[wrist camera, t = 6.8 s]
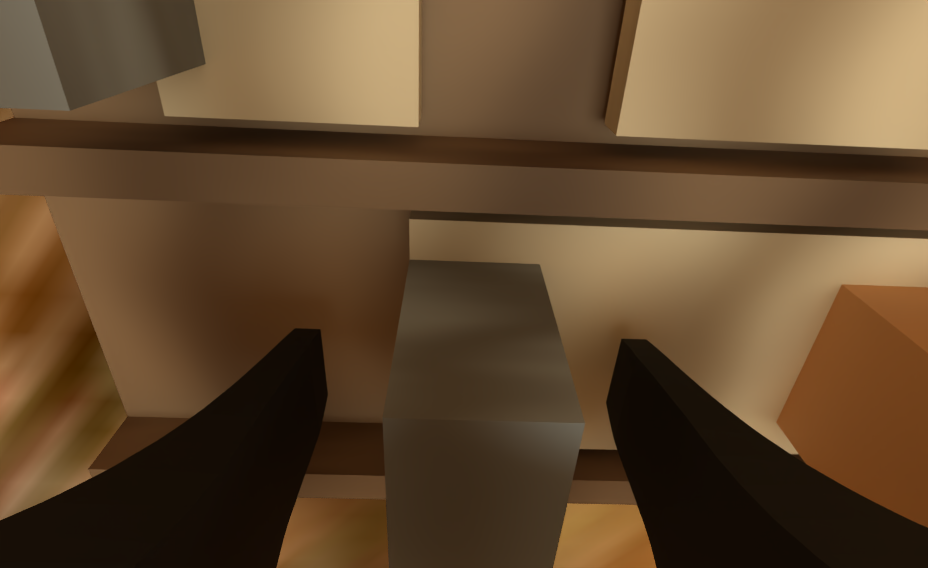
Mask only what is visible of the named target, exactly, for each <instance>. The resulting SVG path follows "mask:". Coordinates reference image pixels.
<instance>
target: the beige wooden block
mask: <svg viewBox="0 0 928 568" xmlns="http://www.w3.org/2000/svg"><path fill="white" fill-rule="evenodd" d="M409 247H410V260H409V266H408V272H407V278H406V283H405V289H404V295H403V301H402V307H401V313H400V318H399V324H398V330H397V336H396V342H395V348H394V353H393V359H392V365H391V371H390V377H389V383H388V389H387V394H386V400H385V406H384V412H383V418H382V419H383V442H384V464H385V486H386V509H387V531H388V554H389V568H553V565H554V560H555V556H556V551H557V547H558V542H559V538H560V534H561V529H562V525H563V520H564V516H565V511H566V507H567V502H568V498H569V493H570V489H571V484H572V480H573V475H574V471H575V466H576V462H577V457H578V453H579V449H606V450H617V448H616V445H615V442H614V438H613V434H612V430H611V425H610V421H609V416H608V411H607V406H606V400H607V396H608V391H609V387H610V383H611V379H612V375H613V371H614V367H615V363H616V359H617V355H618V351H619V346H620V342H621V339H647V340H648V341H649V342H650V343H652V344H653V345H654V346H655V347H656V348H657V349H659V350H660V351H661V352H662V353H663V354H664V355H665V356H666V357H668V358H669V359H670V360H671V361H672V362H673V363H674V364H675V365H677V366H678V367H679V368H680V369H681V370H682V371H683V372H684V373H686V374H687V375H688V376H689V377H690V378H691V379H692V380H693V381H695V382H696V383H697V384H698V385H699V386H700V387H702V388H703V389H704V390H705V391H706V392H707V393H709V394H710V395H711V396H712V397H713V398H715V399H716V400H717V401H718V402H720V403H721V404H722V405H723V406H724V407H726V408H727V409H728V410H730V411H731V412H732V413H733V414H735V415H736V416H737V417H739V418H740V419H741V420H742V421H744V422H745V423H746V424H748V425H749V426H750V427H752V428H753V429H754V430H756V431H757V432H759V433H760V434H761V435H763V436H764V437H766V438H767V439H769V440H770V441H772V442H773V443H775V444H776V445H778V446H779V447H781V448H782V449H784V450H785V451H787V452H788V453H790V454H798V452H797V451H796V449H795V448H794V447H793V445H792V444H791V442H790V441H789V440H788V438H787V437H786V435H785V434H784V433H783V431H782V430H781V428H780V427H779V426H778V424H777V423H776V422H777V419H778V417H779V415H780V413H781V411H782V409H783V407H784V405H785V403H786V401H787V398H788V396H789V394H790V392H791V390H792V388H793V386H794V384H795V382H796V380H797V377H798V375H799V373H800V371H801V369H802V367H803V365H804V363H805V361H806V359H807V356H808V354H809V352H810V350H811V348H812V346H813V344H814V342H815V340H816V338H817V335H818V333H819V331H820V329H821V327H822V325H823V323H824V321H825V319H826V316H827V314H828V312H829V310H830V308H831V306H832V304H833V302H834V300H835V298H836V295H837V293H838V291H839V289H840V287H841V285H842V284H846V285H874V286H903V287H928V230H904V229H878V228H852V227H827V226H801V225H775V224H750V223H724V222H698V221H673V220H647V219H621V218H596V217H570V216H544V215H519V214H493V213H467V212H442V211H416V210H411V213H410V218H409Z"/></svg>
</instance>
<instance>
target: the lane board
mask: <svg viewBox="0 0 928 568" xmlns="http://www.w3.org/2000/svg"><path fill="white" fill-rule="evenodd" d="M0 108H11V110H12V112H13V115H14V117H15V118H12V119H9V120H6V121H2V122H0V194H5V195H31V196H44V197H45V199H46V202H47V205H48V207H49V210H50V213H51V215H52V218H53V220H54V223H55V226H56V228H57V231H58V234H59V236H60V239H61V242H62V244H63V247H64V249H65V252H66V255H67V257H68V260H69V263H70V265H71V268H72V271H73V273H74V276H75V278H76V281H77V284H78V286H79V289H80V292H81V294H82V297H83V300H84V302H85V305H86V308H87V310H88V313H89V315H90V318H91V321H92V323H93V326H94V329H95V331H96V334H97V337H98V339H99V342H100V344H101V347H102V350H103V352H104V355H105V358H106V360H107V363H108V366H109V368H110V371H111V374H112V376H113V379H114V381H115V384H116V387H117V389H118V392H119V395H120V397H121V400H122V403H123V405H124V408H125V410H126V413H127V416H128V417H127V418H126V420H125V421H124V422H123V424H122V425H121V426H120V428H119V429H118V430H117V432H116V433H115V434H114V436H113V437H112V438H111V440H110V441H109V442H108V444H107V445H106V446H105V448H104V449H103V450H102V452H101V453H100V454H99V456H98V457H97V458H96V460H95V461H94V462H93V464H92V465H91V466H90V468H89V469H88V470H89V472H90V474H91V476H92V478H93V477H94V476H96V475H98V474H100V473H102V472H104V471H106V470H108V469H110V468H111V467H113V466H115V465H117V464H118V463H120V462H122V461H123V460H125V459H127V458H128V457H130V456H132V455H134V454H135V453H137V452H139V451H140V450H142V449H144V448H145V447H147V446H149V445H150V444H152V443H154V442H155V441H157V440H159V439H160V438H162V437H163V436H165V435H166V434H168V433H169V432H171V431H172V430H174V429H175V428H177V427H178V426H180V425H181V424H183V423H184V422H186V421H187V420H188V419H190V418H191V417H192V416H194V415H195V414H197V413H198V412H199V411H201V410H202V409H203V408H205V407H206V406H207V405H208V404H210V403H211V402H212V401H213V400H215V399H216V398H217V397H218V396H220V395H221V394H222V393H223V392H225V391H226V390H227V389H228V388H229V387H231V386H232V385H233V384H234V383H235V382H237V381H238V380H239V379H240V378H241V377H242V376H243V375H244V374H246V373H247V372H248V371H249V370H250V369H251V368H252V367H253V366H254V365H256V364H257V363H258V362H259V361H260V360H261V359H262V358H263V357H264V356H265V355H266V354H267V353H269V352H270V351H271V350H272V349H273V348H274V347H275V346H276V345H277V344H278V343H279V342H280V341H281V340H282V339H283V338H284V337H286V336H287V335H288V334H289V333H290V332H291V331H292V330H293V329H295V328H303V329H321V337H322V346H323V355H324V363H325V372H326V381H327V390H328V397H327V402H326V407H325V412H324V417H323V421H322V425H321V430H320V434H319V437H318V440H317V443H316V445H315V448H314V451H313V454H312V457H311V460H310V463H309V465H308V468H307V471H306V474H305V477H304V479H303V482H302V485H301V488H300V491H299V493H298V496H297V497H300V498H346V499H386V486H385V464H384V442H383V419H382V418H383V412H384V406H385V400H386V394H387V389H388V383H389V377H390V371H391V365H392V359H393V353H394V348H395V342H396V336H397V330H398V324H399V318H400V313H401V307H402V301H403V295H404V289H405V283H406V278H407V272H408V266H409V260H410V247H409V218H410V213H411V210H416V211H442V212H467V213H493V214H519V215H544V216H570V217H596V218H621V219H647V220H673V221H698V222H724V223H750V224H775V225H801V226H827V227H852V228H878V229H904V230H928V0H0ZM791 455H793V456H794V457H796V458H797V459H799V460H801V461H802V462H804V461H803V459H802V458H801V456H800V455H799V454H791ZM804 463H805V462H804ZM805 464H806V463H805ZM567 503H580V504H627V505H637V503H636V500H635V497H634V495H633V492H632V489H631V487H630V484H629V481H628V478H627V476H626V473H625V470H624V467H623V465H622V462H621V459H620V456H619V453H618V450H606V449H579V453H578V457H577V462H576V466H575V471H574V475H573V480H572V484H571V489H570V493H569V498H568V502H567Z"/></svg>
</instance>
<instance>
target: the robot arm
mask: <svg viewBox="0 0 928 568" xmlns="http://www.w3.org/2000/svg"><path fill="white" fill-rule="evenodd" d="M327 397H328V390H327V381H326V372H325V363H324V355H323V346H322V337H321V329H303V328H295V329H293V330H292V331H291V332H290V333H289V334H288V335H287V336H286V337H284V338H283V339H282V340H281V341H280V342H279V343H278V344H277V345H276V346H275V347H274V348H273V349H272V350H271V351H270V352H269V353H267V354H266V355H265V356H264V357H263V358H262V359H261V360H260V361H259V362H258V363H257V364H256V365H254V366H253V367H252V368H251V369H250V370H249V371H248V372H247V373H246V374H244V375H243V376H242V377H241V378H240V379H239V380H238V381H237V382H235V383H234V384H233V385H232V386H231V387H229V388H228V389H227V390H226V391H225V392H223V393H222V394H221V395H220V396H218V397H217V398H216V399H215V400H213V401H212V402H211V403H210V404H208V405H207V406H206V407H205V408H203V409H202V410H201V411H199V412H198V413H197V414H195V415H194V416H192V417H191V418H190V419H188V420H187V421H186V422H184V423H183V424H181V425H180V426H178V427H177V428H175V429H174V430H172V431H171V432H169V433H168V434H166V435H165V436H163V437H162V438H160V439H159V440H157V441H155V442H154V443H152V444H150V445H149V446H147V447H145V448H144V449H142V450H140V451H139V452H137V453H135V454H134V455H132V456H130V457H128V458H127V459H125V460H123V461H122V462H120V463H118V464H117V465H115V466H113V467H111V468H110V469H108V470H106V471H104V472H102V473H100V474H98V475H96V476H94V477H93V478H91V479H89V480H87V481H85V482H83V483H81V484H79V485H77V486H75V487H73V488H71V489H69V490H67V491H65V492H63V493H61V494H59V495H57V496H55V497H52V498H50V499H48V500H46V501H44V502H42V503H40V504H37V505H35V506H33V507H30V508H28V509H26V510H23V511H21V512H19V513H17V514H14V515H12V516H10V517H7V518H5V519H3V520H0V568H276V567H277V563H278V559H279V555H280V551H281V547H282V543H283V539H284V535H285V532H286V529H287V525H288V522H289V519H290V516H291V513H292V510H293V507H294V505H295V502H296V499H297V496H298V493H299V491H300V488H301V485H302V482H303V479H304V477H305V474H306V471H307V468H308V465H309V463H310V460H311V457H312V454H313V451H314V448H315V445H316V443H317V440H318V437H319V434H320V430H321V425H322V421H323V417H324V412H325V407H326V402H327ZM606 406H607V411H608V416H609V421H610V425H611V430H612V434H613V438H614V442H615V445H616V448H617V450H618V453H619V456H620V459H621V462H622V465H623V467H624V470H625V473H626V476H627V478H628V481H629V484H630V487H631V489H632V492H633V495H634V497H635V500H636V503H637V506H638V508H639V511H640V514H641V517H642V519H643V522H644V525H645V528H646V531H647V534H648V537H649V540H650V544H651V547H652V551H653V555H654V559H655V563H656V567H657V568H928V528H927V527H925V526H923V525H921V524H918V523H916V522H914V521H912V520H910V519H907V518H905V517H903V516H901V515H899V514H897V513H895V512H893V511H891V510H889V509H887V508H885V507H883V506H881V505H879V504H877V503H875V502H873V501H871V500H869V499H867V498H865V497H864V496H862V495H860V494H858V493H856V492H854V491H852V490H851V489H849V488H847V487H845V486H843V485H841V484H840V483H838V482H836V481H834V480H833V479H831V478H829V477H828V476H826V475H824V474H822V473H821V472H819V471H817V470H816V469H814V468H812V467H810V466H809V465H807V464H805V463H804V462H802V461H801V460H799V459H797V458H796V457H794V456H793V455H791V454H790V453H788V452H787V451H785V450H784V449H782V448H781V447H779V446H778V445H776V444H775V443H773V442H772V441H770V440H769V439H767V438H766V437H764V436H763V435H761V434H760V433H759V432H757V431H756V430H754V429H753V428H752V427H750V426H749V425H748V424H746V423H745V422H744V421H742V420H741V419H740V418H739V417H737V416H736V415H735V414H733V413H732V412H731V411H730V410H728V409H727V408H726V407H724V406H723V405H722V404H721V403H720V402H718V401H717V400H716V399H715V398H713V397H712V396H711V395H710V394H709V393H707V392H706V391H705V390H704V389H703V388H702V387H700V386H699V385H698V384H697V383H696V382H695V381H693V380H692V379H691V378H690V377H689V376H688V375H687V374H686V373H684V372H683V371H682V370H681V369H680V368H679V367H678V366H677V365H675V364H674V363H673V362H672V361H671V360H670V359H669V358H668V357H666V356H665V355H664V354H663V353H662V352H661V351H660V350H659V349H657V348H656V347H655V346H654V345H653V344H652V343H650V342H649V341H648V340H647V339H621V342H620V346H619V351H618V355H617V359H616V363H615V367H614V371H613V375H612V379H611V383H610V387H609V391H608V396H607V400H606Z"/></svg>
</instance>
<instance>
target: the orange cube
mask: <svg viewBox="0 0 928 568" xmlns="http://www.w3.org/2000/svg"><path fill="white" fill-rule="evenodd" d="M776 423H777V424H778V426H779V427H780V428H781V430H782V431H783V433H784V434H785V435H786V437H787V438H788V440H789V441H790V442H791V444H792V445H793V447H794V448H795V449H796V451H797V452H798V454H799V455H800V456H801V458H802V459H803V461H804V462H805V463H806V464H807V465H809V466H810V467H812V468H814V469H816V470H817V471H819V472H821V473H822V474H824V475H826V476H828V477H829V478H831V479H833V480H834V481H836V482H838V483H840V484H841V485H843V486H845V487H847V488H849V489H851V490H852V491H854V492H856V493H858V494H860V495H862V496H864V497H865V498H867V499H869V500H871V501H873V502H875V503H877V504H879V505H881V506H883V507H885V508H887V509H889V510H891V511H893V512H895V513H897V514H899V515H901V516H903V517H905V518H907V519H910V520H912V521H914V522H916V523H918V524H921V525H923V526H925V527H927V528H928V287H903V286H874V285H846V284H842V285H841V287H840V289H839V291H838V293H837V295H836V298H835V300H834V302H833V304H832V306H831V308H830V310H829V312H828V314H827V316H826V319H825V321H824V323H823V325H822V327H821V329H820V331H819V333H818V335H817V338H816V340H815V342H814V344H813V346H812V348H811V350H810V352H809V354H808V356H807V359H806V361H805V363H804V365H803V367H802V369H801V371H800V373H799V375H798V377H797V380H796V382H795V384H794V386H793V388H792V390H791V392H790V394H789V396H788V398H787V401H786V403H785V405H784V407H783V409H782V411H781V413H780V415H779V417H778V419H777V422H776Z"/></svg>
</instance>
